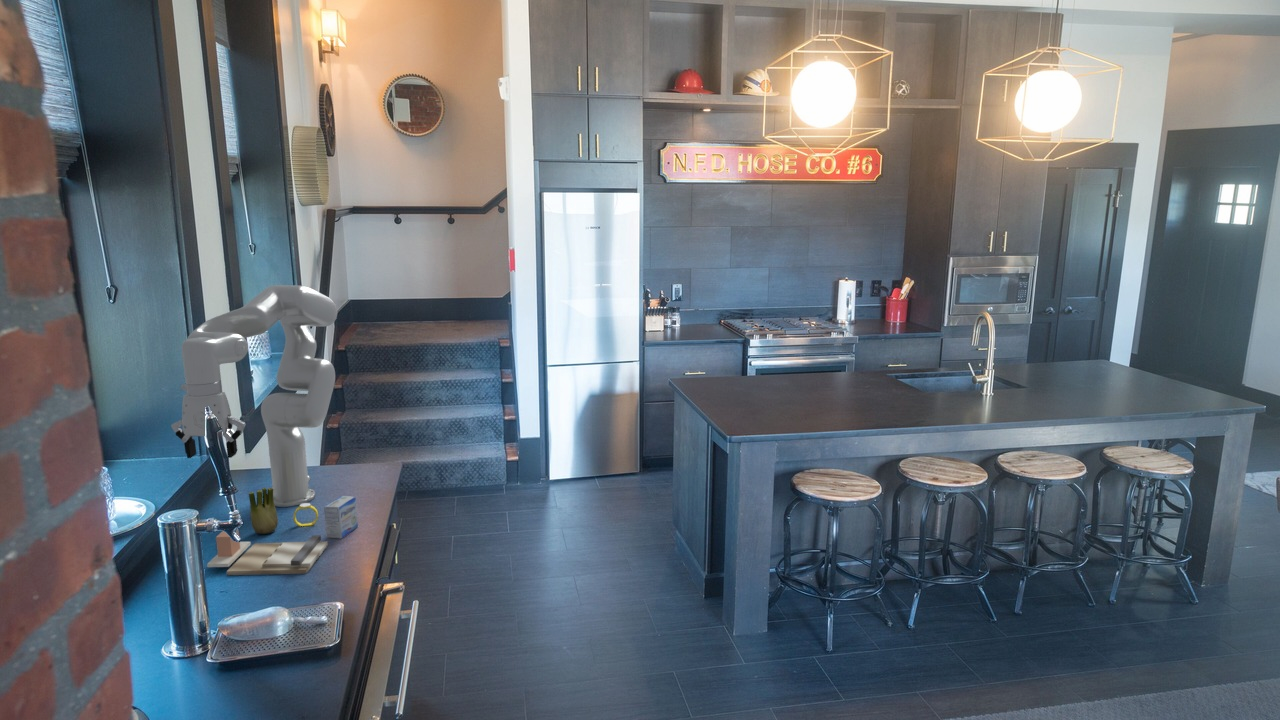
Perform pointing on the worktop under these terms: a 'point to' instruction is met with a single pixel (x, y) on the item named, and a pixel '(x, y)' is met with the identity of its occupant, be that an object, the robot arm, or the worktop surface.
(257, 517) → the fennel bulb
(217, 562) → the terracotta pink brick
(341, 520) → the medicine box
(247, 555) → the board
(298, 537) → the worktop surface
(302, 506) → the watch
